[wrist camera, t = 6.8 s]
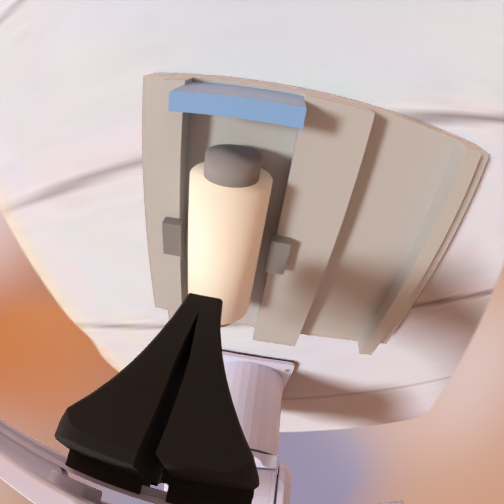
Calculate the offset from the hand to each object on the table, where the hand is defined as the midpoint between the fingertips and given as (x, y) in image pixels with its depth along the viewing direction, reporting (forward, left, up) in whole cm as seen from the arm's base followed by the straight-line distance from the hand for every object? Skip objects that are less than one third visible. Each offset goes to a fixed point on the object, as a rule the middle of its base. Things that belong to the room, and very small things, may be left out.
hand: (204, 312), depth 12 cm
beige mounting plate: (0, -4, -8) cm, 8 cm away
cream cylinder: (0, 0, -6) cm, 6 cm away
